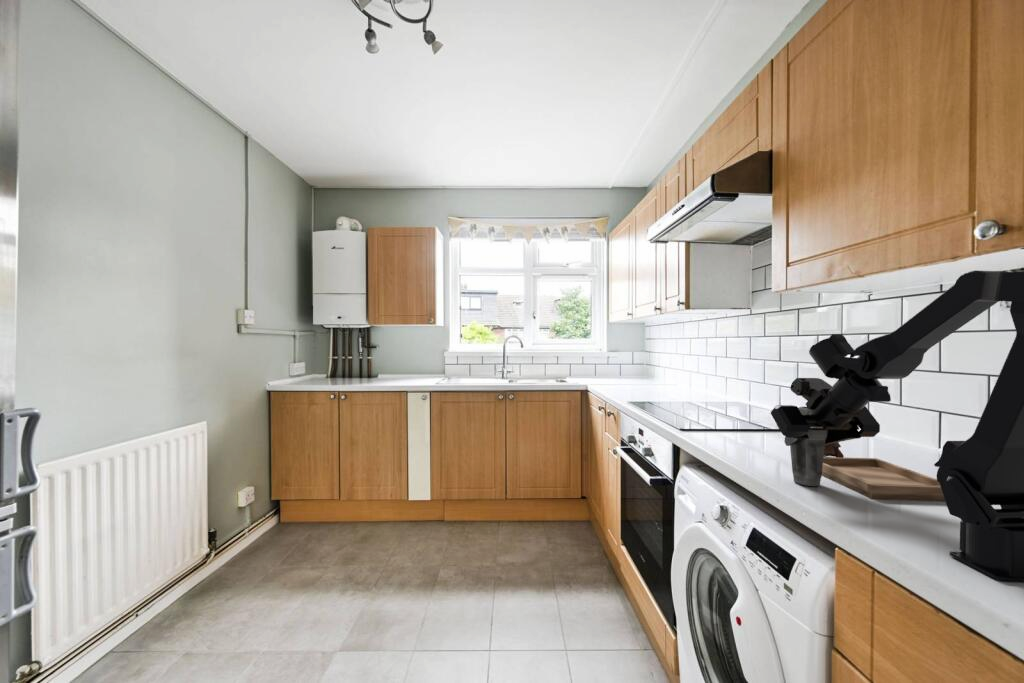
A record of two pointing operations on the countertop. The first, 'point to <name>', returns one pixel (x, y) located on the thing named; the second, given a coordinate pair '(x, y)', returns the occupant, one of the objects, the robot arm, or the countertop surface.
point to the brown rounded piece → (833, 450)
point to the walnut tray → (881, 479)
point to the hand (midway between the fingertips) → (802, 443)
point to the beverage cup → (808, 455)
